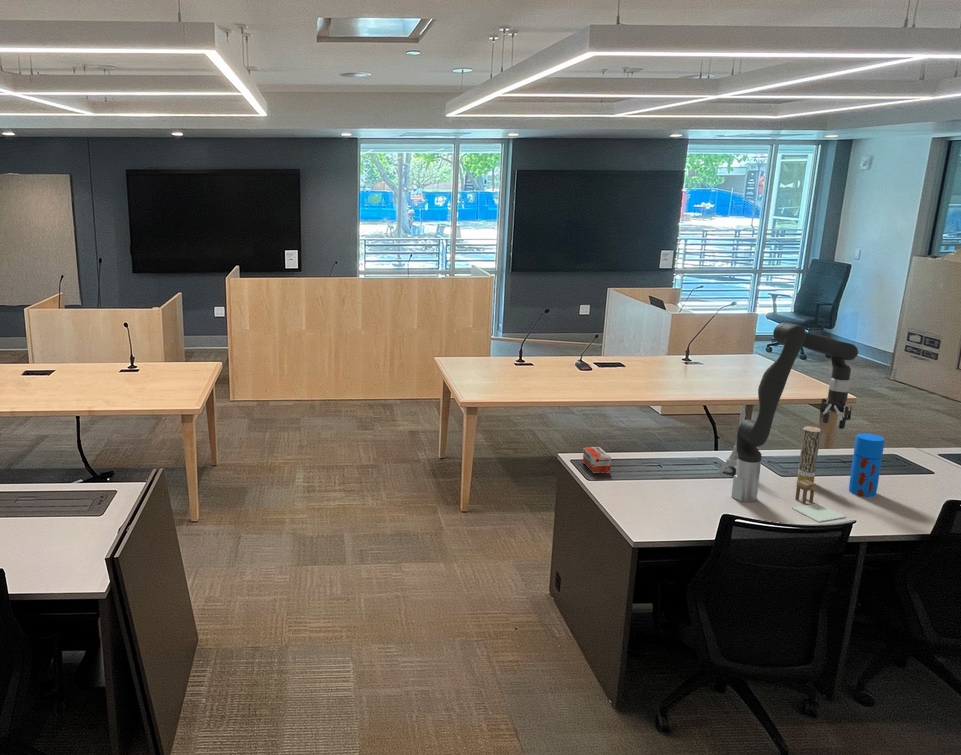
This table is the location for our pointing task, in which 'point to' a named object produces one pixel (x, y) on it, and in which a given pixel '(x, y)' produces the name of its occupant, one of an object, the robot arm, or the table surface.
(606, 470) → the medicine box
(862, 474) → the thermos
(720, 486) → the table surface
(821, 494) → the table surface
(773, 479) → the table surface
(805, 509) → the pad
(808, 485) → the stool
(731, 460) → the eiffel tower
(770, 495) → the table surface
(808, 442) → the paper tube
